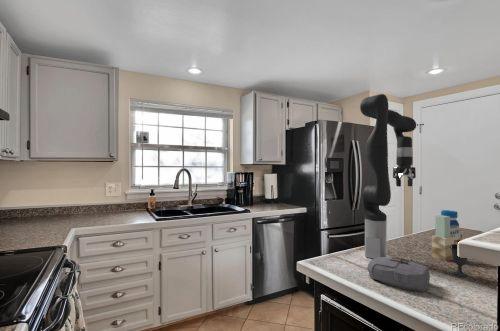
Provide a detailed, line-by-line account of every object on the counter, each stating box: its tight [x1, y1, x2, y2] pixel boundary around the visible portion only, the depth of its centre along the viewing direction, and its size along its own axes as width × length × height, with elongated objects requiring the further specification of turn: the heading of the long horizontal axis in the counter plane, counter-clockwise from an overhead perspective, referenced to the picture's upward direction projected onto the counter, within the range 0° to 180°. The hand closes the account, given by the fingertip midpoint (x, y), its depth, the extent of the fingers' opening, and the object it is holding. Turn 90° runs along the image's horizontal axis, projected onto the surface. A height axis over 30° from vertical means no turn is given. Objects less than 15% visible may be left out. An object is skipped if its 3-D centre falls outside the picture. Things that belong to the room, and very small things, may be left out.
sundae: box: [450, 234, 469, 278], centre depth 104 cm, size 7×7×15 cm
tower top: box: [431, 234, 454, 250], centre depth 123 cm, size 6×6×5 cm
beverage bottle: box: [440, 209, 461, 242], centre depth 136 cm, size 8×8×20 cm
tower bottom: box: [431, 246, 454, 262], centre depth 123 cm, size 6×6×5 cm
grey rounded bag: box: [366, 256, 431, 293], centre depth 97 cm, size 15×8×20 cm
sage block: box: [434, 214, 450, 238], centre depth 123 cm, size 4×4×10 cm
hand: (404, 186), depth 142 cm, fingers open, 8 cm apart
